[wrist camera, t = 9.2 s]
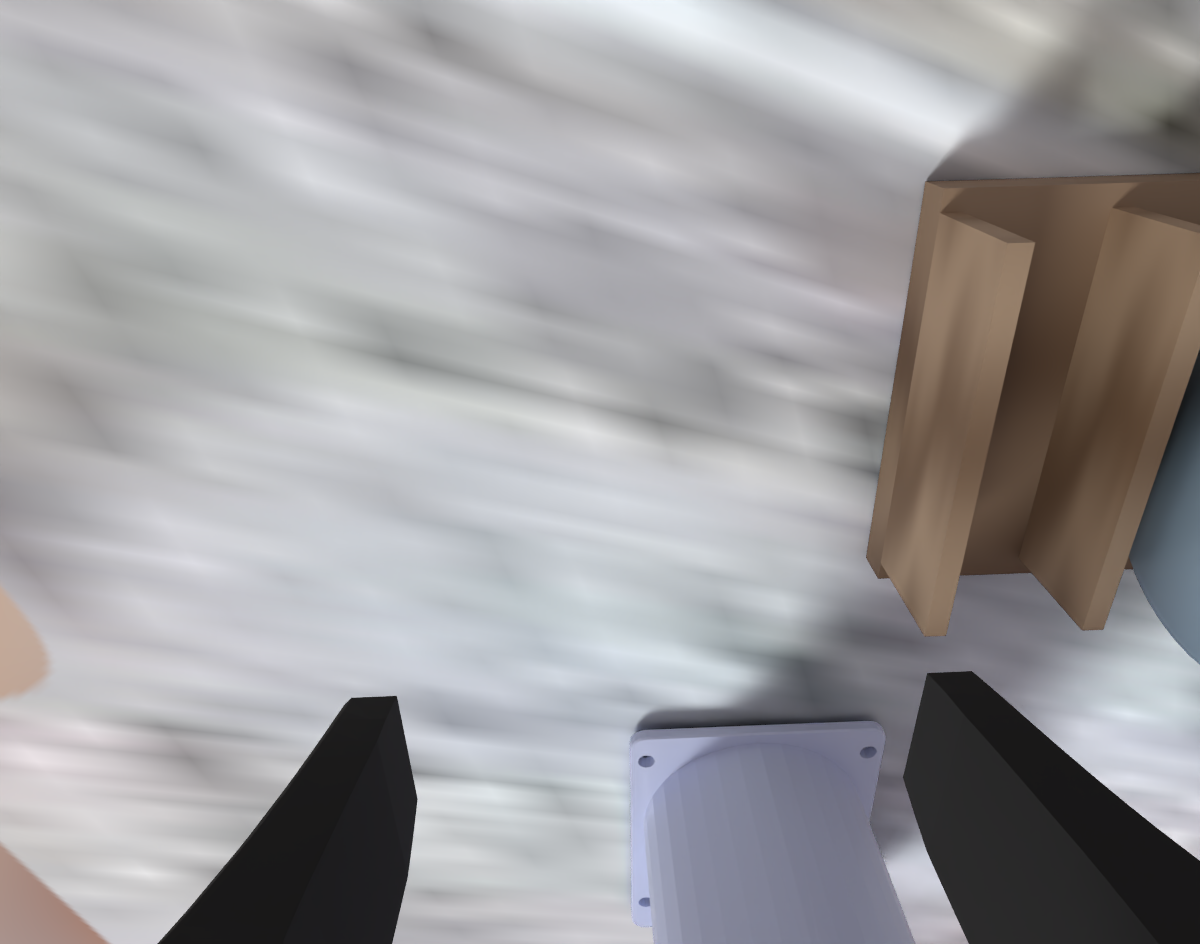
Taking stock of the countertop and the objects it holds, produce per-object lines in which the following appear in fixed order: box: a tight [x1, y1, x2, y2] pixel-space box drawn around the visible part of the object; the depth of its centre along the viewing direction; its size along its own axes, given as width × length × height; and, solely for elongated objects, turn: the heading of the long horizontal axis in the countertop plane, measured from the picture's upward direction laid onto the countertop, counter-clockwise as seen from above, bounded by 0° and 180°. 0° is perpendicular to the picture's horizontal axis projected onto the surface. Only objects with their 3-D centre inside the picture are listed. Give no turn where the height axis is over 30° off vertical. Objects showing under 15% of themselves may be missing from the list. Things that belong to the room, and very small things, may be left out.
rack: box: [866, 173, 1200, 637], centre depth 18 cm, size 10×12×4 cm
